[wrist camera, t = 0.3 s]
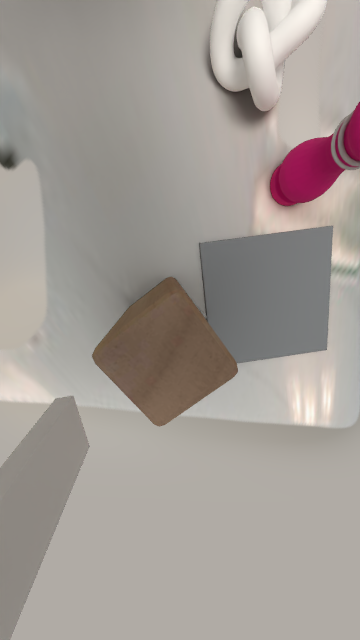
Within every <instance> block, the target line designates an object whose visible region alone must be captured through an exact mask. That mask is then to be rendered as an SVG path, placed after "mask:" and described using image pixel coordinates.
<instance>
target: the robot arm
mask: <svg viewBox="0 0 360 640" xmlns="http://www.w3.org/2000/svg"><path fill="white" fill-rule="evenodd" d="M88 449H89V443H88V440H87V437H86V434H85V431H84V427H83V424H82V422H81V418H80V415H79V412H78V409H77V406H76V403H75V400H74V396H69V397H63V398H57V399H55V400H54V401H53V403H52V404H51V405H50V406H49V408H48V409H47V410H46V411H45V413H44V414H43V415H42V416H41V418H40V419H39V420H38V421H37V423H36V424H35V425H34V426H33V428H32V429H31V430H30V431H29V433H28V434H27V435H26V436H25V438H24V439H23V440H22V441H21V443H20V444H19V445H18V446H17V448H16V449H15V450H14V451H13V452H12V454H11V455H10V456H9V457H8V459H7V460H6V461H5V462H4V464H3V465H2V466H1V468H0V640H10V638H11V636H12V634H13V631H14V629H15V626H16V624H17V621H18V619H19V616H20V614H21V611H22V609H23V607H24V604H25V602H26V599H27V597H28V595H29V592H30V589H31V587H32V585H33V583H34V580H35V578H36V575H37V573H38V570H39V568H40V565H41V563H42V561H43V558H44V556H45V553H46V551H47V549H48V546H49V544H50V541H51V539H52V536H53V534H54V532H55V529H56V527H57V524H58V522H59V519H60V517H61V514H62V512H63V510H64V507H65V505H66V502H67V500H68V498H69V495H70V493H71V490H72V488H73V485H74V483H75V481H76V478H77V476H78V473H79V471H80V468H81V466H82V464H83V461H84V459H85V456H86V454H87V451H88Z"/></svg>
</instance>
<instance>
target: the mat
mask: <svg viewBox="0 0 360 640" xmlns="http://www.w3.org/2000/svg"><path fill="white" fill-rule="evenodd" d="M332 236H333V226H326V227H319V228H311V229H304V230H296V231H289V232H281V233H273V234H266V235H258V236H251V237H243V238H235V239H228V240H220V241H213V242H205V243H199V245H200V255H201V265H202V275H203V285H204V295H205V305H206V314H207V322H208V323H209V325H210V326H211V327H212V329H213V330H214V332H215V333H216V334H217V336H218V337H219V338H220V340H221V341H222V343H223V344H224V345H225V347H226V348H227V350H228V351H229V352H230V354H231V355H232V357H233V358H234V359H235V361H236V363H243V362H249V361H256V360H263V359H269V358H276V357H283V356H290V355H296V354H303V353H310V352H317V351H323V350H327V337H328V317H329V297H330V276H331V256H332Z"/></svg>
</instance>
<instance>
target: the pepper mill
mask: <svg viewBox="0 0 360 640" xmlns="http://www.w3.org/2000/svg"><path fill="white" fill-rule="evenodd" d="M359 168H360V102H359V103H358V105H357V106H356V108H355V110H354V111H353V112H352V113H351V114H350V115H348V116H347V117H345V118H344V119H343V120H342V121H341V122H340V123H339V125H338V126H337V128H336V129H335V132H334V134H332V135H331V136H329V137H323V138H314V139H311V140H308V141H305V142H303V143H301V144H299V145H298V146H296V147H295V148H294V149H293V150H291V151H290V152H289V154H288V155H287V156H286V157H285V159H284V161H283V163H282V164H281V165H280V166H278V167H277V169H276V170H275V171H274V173H273V175H272V178H271V182H270V189H271V194H272V196H273V198H274V199H275V200H276V201H277V202H278V203H279V204H281V205H284V206H291V205H294V204H297V203H305V202H309V201H312V200H314V199H316V198H317V197H319V196H321V195H322V194H323V193H325V192H326V191H327V190H328V189H329V188H330V187H331V186H332V185H333V183H334V182H335V181H336V179H337V178H338V177H339V175H340V174H341V173H342V172H343V171H344V170H356V169H359Z"/></svg>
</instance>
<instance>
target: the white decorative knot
mask: <svg viewBox="0 0 360 640" xmlns="http://www.w3.org/2000/svg"><path fill="white" fill-rule="evenodd" d="M249 1H250V0H217V3H216V6H215V10H214V14H213V19H212V24H211V33H210V58H211V64H212V69H213V72H214V75H215V77H216V79H217V80H218V82H219V83H220V84H221V85H222V86H223V87H224V88H225V89H227V90H229V91H233V92H237V91H242V90H244V89H247V88H250V91H251V95H252V98H253V101H254V104H255V106H256V107H257V108H258V109H260V110H261V111H268V110H270V109H271V108H272V107H274V106H275V105H276V103H277V101H278V99H279V97H280V93H281V87H282V81H283V73H284V64H285V59H286V58H287V57H288V56H289V55H290V54H291V53H292V52H293V51H295V50H296V48H298V47H299V46H300V45H301V44H302V43H303V42H304V41H305V40H306V39H307V38H308V37H309V36H310V35H311V33H312V32H313V31H314V30H315V28H316V27H317V25H318V23H319V22H320V20H321V18H322V16H323V15H324V13H325V8H326V3H327V0H261V4H262V9H260V8H256V7H252V8H250V9H249V10H247V11H245V12H244V14H243V16H242V18H241V20H240V21H239V18H240V16H241V14H242V12H243V10H244V8H245V7H246V5H247V4H248V2H249ZM238 21H239V24H238ZM237 24H238V29H237V35H236V38H237V43H238V47H239V48H240V49H241V51H242V56H243V57H242V58H237V57H235V55H234V49H233V44H234V36H235V31H236V27H237Z"/></svg>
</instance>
